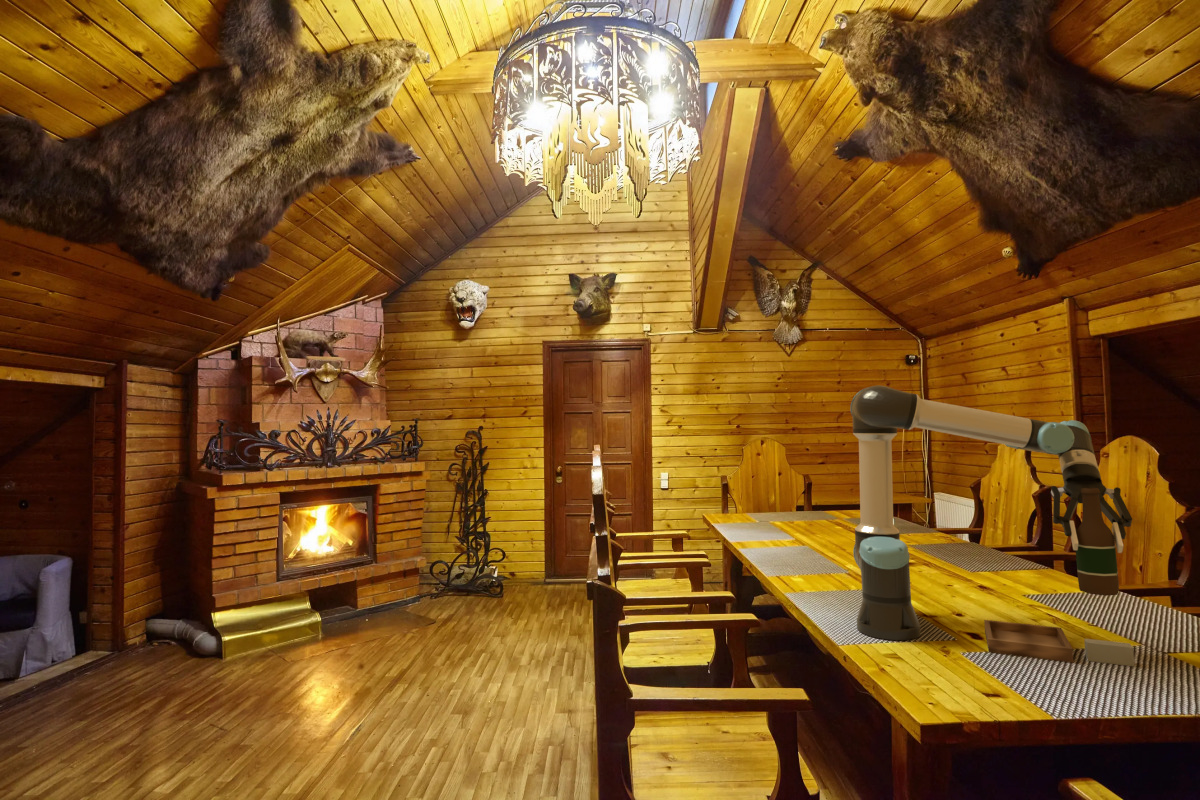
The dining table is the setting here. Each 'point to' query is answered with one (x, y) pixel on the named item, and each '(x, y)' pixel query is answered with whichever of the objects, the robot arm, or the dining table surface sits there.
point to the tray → (1028, 640)
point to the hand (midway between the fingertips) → (1097, 548)
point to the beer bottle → (1095, 549)
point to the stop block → (1109, 652)
